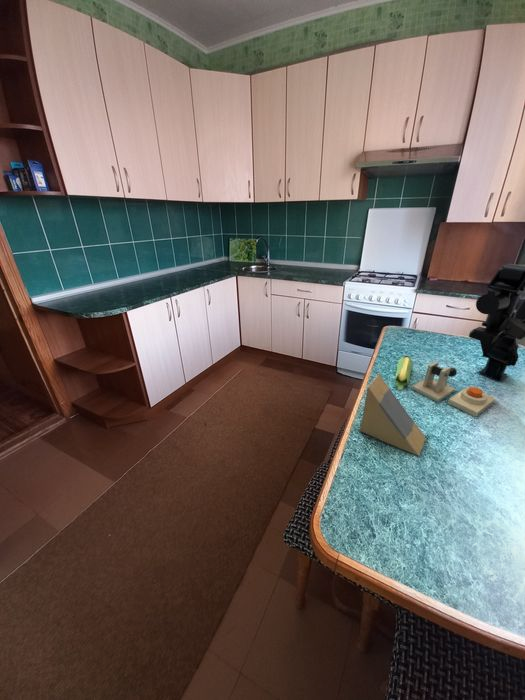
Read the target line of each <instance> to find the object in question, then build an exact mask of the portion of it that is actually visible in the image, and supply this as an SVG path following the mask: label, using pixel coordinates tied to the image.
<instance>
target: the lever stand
mask: <svg viewBox="0 0 525 700" xmlns="http://www.w3.org/2000/svg"><path fill="white" fill-rule="evenodd" d="M435 366H436V367H439V361H434V362H432V363H430V364H428V365H427V369H426V372H425V376H424V379H422V380H420V381H418V382H417V383H414V384H413V385H412V386H411V390H413V391H415V392H417V393H419V394H420V395H423V396H425V397H426V398H428V399H431V400H432V401H435V402H437V403H439V402H441V401H442V400H444V399H445V398H447V397H448V396H450V395H451V394H452V393H454V392H455V390H456V388H455V387H453V386H450V385H448V384H447V382H448V379H449V373H450V370H451V368H452V367H450V366H447V367H444V368H443V370H441V372H440V375H439V376H438V379H435V376H436V375H435V374H433V373H432V371H433V369H434V367H435Z"/></svg>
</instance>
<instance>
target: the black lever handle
mask: <svg viewBox="0 0 525 700" xmlns="http://www.w3.org/2000/svg"><path fill="white" fill-rule="evenodd" d="M443 369H444V368H442V367H440V366H437V367H436V366H435V367H434V369H433V371H432V373H433V374H435V376H438V377H439V375H440V372H441V370H443ZM457 373H458V371H457V370H456V368H454V367H451V370H450V373H449V376H448V378H449V377H450V378H453V377H455V376H456V375H457Z"/></svg>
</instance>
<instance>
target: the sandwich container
mask: <svg viewBox="0 0 525 700" xmlns="http://www.w3.org/2000/svg"><path fill="white" fill-rule="evenodd" d="M365 394H366V395H365V400H364V406H363V411H362V418H361V423H360V429H359V431H360V432H361V433H364V434H366V435H369V436H370V437H372V438H375V439H377V440H380V441H381V442H384V443H386V444H389V445H390V446H394V447H396V448H398V449H401V450H403V451H406V452H409V453H410V454H413V455H415V456H417V457H419V456H420V455H421V453H422V450H423V448H424V445H425V441H426V436H425V434H424V433H423V432H422V430H421V429H420V428H419V426H418V425H417V423H415V421H414V420H413V418H412V417H411V416H410V415H409V413H408V412H407V410H406V409H405V408H404V406H403V405H402V404H401V402H400V401H399V400H398V398H397V397H396V396H395V394H394V393H393V391H392V390H391V388H390V387H389V385H388V384H387V383H386V381H385V380H384V379H383V377H382V375H381V374H380V373H377V374H376V376H375V377H374V379H373V380H372V381H371V382H370V383H369V385H368V386H367V389H366V393H365Z"/></svg>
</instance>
